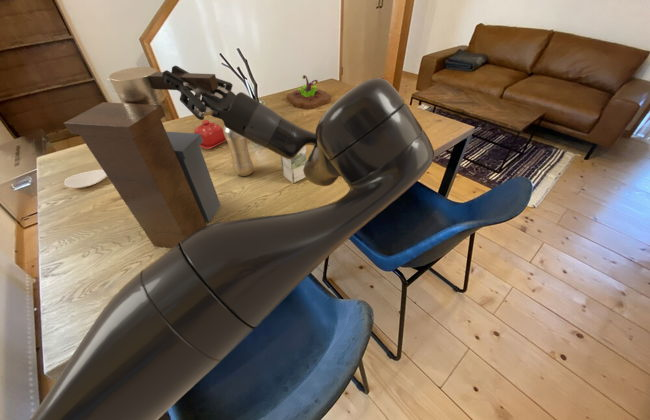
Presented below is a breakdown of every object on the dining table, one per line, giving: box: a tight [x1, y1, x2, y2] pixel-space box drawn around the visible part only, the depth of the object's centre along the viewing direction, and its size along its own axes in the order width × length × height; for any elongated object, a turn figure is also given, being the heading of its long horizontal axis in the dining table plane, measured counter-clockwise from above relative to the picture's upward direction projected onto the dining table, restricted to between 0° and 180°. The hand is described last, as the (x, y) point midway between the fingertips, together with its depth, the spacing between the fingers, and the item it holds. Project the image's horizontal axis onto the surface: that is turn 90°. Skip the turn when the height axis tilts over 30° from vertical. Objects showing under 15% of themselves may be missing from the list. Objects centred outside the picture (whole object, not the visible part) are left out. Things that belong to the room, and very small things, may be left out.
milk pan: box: [108, 66, 218, 105], centre depth 53 cm, size 8×20×5 cm, turn 82°
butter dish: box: [194, 119, 227, 150], centre depth 103 cm, size 12×12×8 cm
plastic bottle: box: [222, 124, 255, 177], centre depth 83 cm, size 6×7×20 cm
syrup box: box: [280, 145, 307, 184], centre depth 83 cm, size 6×6×14 cm
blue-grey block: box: [166, 131, 221, 224], centre depth 69 cm, size 8×12×22 cm, turn 82°
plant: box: [286, 74, 332, 110], centre depth 132 cm, size 20×20×11 cm
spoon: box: [63, 168, 108, 189], centre depth 90 cm, size 9×32×4 cm, turn 122°
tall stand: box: [63, 101, 207, 249], centre depth 59 cm, size 9×12×32 cm
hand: (168, 73), depth 51 cm, fingers closed on milk pan, 2 cm apart
